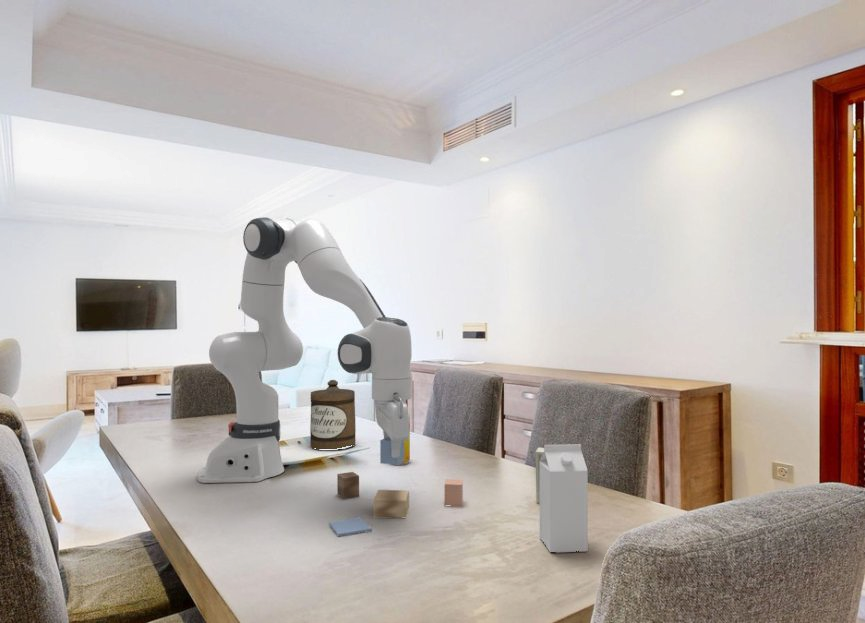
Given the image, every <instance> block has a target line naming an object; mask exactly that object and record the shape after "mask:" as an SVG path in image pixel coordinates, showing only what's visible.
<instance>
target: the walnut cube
mask: <svg viewBox="0 0 865 623" xmlns="http://www.w3.org/2000/svg"><path fill="white" fill-rule="evenodd" d="M336 488H337V490H336V492H337V496H339V497H340V498H341V499H343V500H346V499H353V498H357V497H360V475H359V474H357V473H355V472H354V471H349V472H343V473H337V486H336Z"/></svg>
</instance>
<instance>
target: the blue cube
mask: <svg viewBox="0 0 865 623" xmlns="http://www.w3.org/2000/svg"><path fill="white" fill-rule="evenodd" d="M379 442H380V444H379V445H380V446H379V447H380V453H379V454H380V455H379V456H380V457H379V458H380V462H379V463H380V464H386V465H393V464H394V465H393V466H399V465H398V464H399V463H401V462H402V461H404V441H401V447H400V456H399V457H398V458H393V457H392V456H391V455H390V453H391V452H390V448H391V438H390V437H386V438H384V437H383V438H382V439H380V440H379Z"/></svg>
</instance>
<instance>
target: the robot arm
mask: <svg viewBox="0 0 865 623" xmlns="http://www.w3.org/2000/svg"><path fill="white" fill-rule="evenodd" d="M242 238H243V239H242V240H243V245H244V248H245V250H246V252H247V254H246V257H245V260H244V266H243V271H242V272H243V273H242V280H241V291H240V292H241V293H240V309H241V311H242V312H243V314H245V315H246V316H247V317H248V318H251V319H253V320H254V321H256V322H257V324H258V331H234V332H229V333H224V334H221V335H217V336H216V337H215V338H213V340H212V341H211V343H210V346H209V350H208V351H209V352H208V355H209V356H208V357H209V361H210V363H211V365H212V366H213V367H214V368H215V369H216V370H217V371H218V372H219V373H221V374H223V375H224V376H225V377H226V379H227V380H228V381H229V383H230V385H231V386H232V389H233V391H234V397H235V404H236V405H235V407H236V409H235V410H236V421H230V422H229V423H228V437H226V439H224V440H223V441H221V443H219V444H217V445H216V446H215V447H214V448H213V449H212V450H211V451H210V452H209V454H208V457H207V460H206V465H205V467H203V468H200V470H198V472H197V478H196V480H197V481H198V482H199V483H200V484H201V483H203V484H209V483H210V484H215V483H217V484H218V483H256V482H261V481H263V480H265V479H268V478H269V479H270V478H271V477H272V478H273V477H276V476H279V475H281V474H282V473H283V472H284V471H285V467H284V464H283V460H282V455H281V447H280V440H281V421H280V420H279V394H278V392H277V390H276V389H275V388H274V387H272V386H271V385H270V384H266V383H264V382H262V380H261V378H260V372H263V371H280V370H284V369H288V368H289V369H290V368H292V367H295V366H297V365H298V364H299V363H300V362H301V360H302V358H303V355H304V354H303V353H304V346H303V342H302V340H301V338H300V337H299V336H298V335H297V334H296V333H295V332H293V330H292V329H291V328H290V327H289V324H288V323H287V320H286V318H285V313H284V295H285V294H284V293H285V292H284V291H285V282H286V280H285V278H286V277H285V276H286V274H285V273H286V268H287V266H288V264H290V263H291V262H294V263H296V264H297V266H298V269H299V271H300V274H301V276H302V279H303V281H304V282H305V284H306V285H307V286H308V287H309V289H310V290H311V291H312V292H313V293H315V294H317V295H319V296H321V297H324V298H327V299H330V300H332V301H336V302H338V303H340V304H342V305H344V306H345V307H347V308H348V309H350V310H351V311H352V312H353V313H354V315H355V316H356V318H357V319H358V321H359V323H360V325H361V326H362V329H359V330H357V331H354V332H351V333H347V334H345V335H344V336H343V337H342V339H341V340H340V342H339V344H338V346H337V347H338V348H337V360H338V362H339V365H340V366H341V368H342V369H343V370H344V371H346V373H348V374H354V375H361V374H363V375H364V374H371V399H372V400H374V408H375V419H376V423H377V425H378V427H380V429H381V430H382V435H383V439H384V438H386V437H390V438H391V448H390V452H391V453H390V455H391V456H392V457H393V458H398V457H399V456H400V447H401V441H405V440H408V438H409V415H410V414H408V413H409V408H408V404H407V401H409V400H410V399H412V396H413V393H412V392H413V391H412V390H413V388H412V386H413V385H412V384H413V383H412V381H413V380H412V378H413V376H412V372H411V362H412V337H411V336H412V334H411V330H410V326H409V324H408V322H406V321H404V320H403V319H400V318H395V317H388V316H386V315H385V314H384V312H383V311H382V309H381V307H380V306H379V304H378V302H377V301H376V299H375V297H374V296H373V294H372V293H371V291H370V290H369V288H368V287H367V286H366V284H365V283H364V282H363V281H362V279H361V278H359V276H358V275H357V274H356V273H355V271H354V270H353V269H352V268H351V266H350V265H349V262H347V259H346V258H345V256H344V254H343V253H342V250H341V248H340V246H339V244H338V242H337V241H336V238H334V236H333V235H332V233H331V232H330V230H329V229H328V227H327V226H326V225H325V223H323V222H322V221H319V220H318V219H305V220H299V219H295V218H288V217H287V218H279V217H278V218H277V217H276V218H275V217H274V218H269V217H257V218H253V219H250V220H249V222H248V223H247V224H246V227H245V229H244V230H243V237H242Z"/></svg>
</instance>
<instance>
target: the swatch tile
mask: <svg viewBox="0 0 865 623" xmlns="http://www.w3.org/2000/svg"><path fill="white" fill-rule="evenodd" d="M329 525H330V526H329ZM328 526H329V527H330V528H331V529H333V530H334V531H335V532H334V531H333V530H332V531H333V532H334V534H335V533H336V534H337V535H338V536H340V537H343V536H342V535H346V536H349V535H348V534H352V535H355V534H354V533H358V534H361V533H360V532H363V533H366V532H365V531H369V532H371V531H370V530H372V531H373V528H372V527H371V526H370V525H369V524H368V523H367V522H366V521H365V519H364V518H362V517H354V518H347V519H342V520H336V521H330V522H329V521H328ZM336 534H335V535H336ZM337 535H336V536H337ZM338 536H337V537H338Z"/></svg>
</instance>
